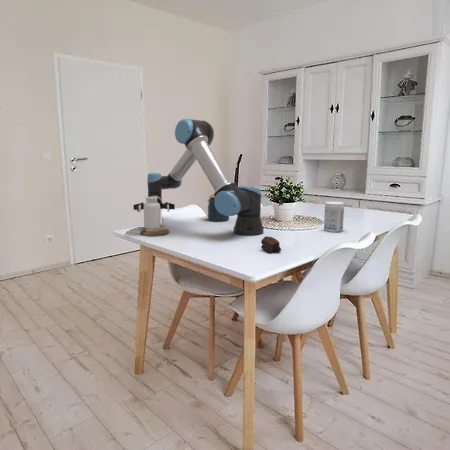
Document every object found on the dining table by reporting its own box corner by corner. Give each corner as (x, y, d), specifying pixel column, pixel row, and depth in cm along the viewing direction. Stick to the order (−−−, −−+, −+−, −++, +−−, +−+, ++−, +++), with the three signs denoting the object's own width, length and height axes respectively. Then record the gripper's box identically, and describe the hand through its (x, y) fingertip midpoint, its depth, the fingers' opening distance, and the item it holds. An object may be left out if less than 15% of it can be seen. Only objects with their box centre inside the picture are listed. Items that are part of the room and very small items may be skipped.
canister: (229, 222, 215) (229, 191, 212) (206, 221, 215) (207, 191, 212) (229, 218, 228) (229, 189, 225) (208, 217, 228) (208, 189, 225)
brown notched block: (283, 240, 148) (267, 232, 155) (271, 249, 145) (255, 240, 153) (286, 251, 151) (270, 243, 159) (274, 260, 149) (258, 251, 156)
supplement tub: (335, 228, 200) (337, 201, 197) (346, 231, 191) (348, 203, 188) (319, 229, 196) (321, 201, 194) (330, 233, 188) (332, 204, 185)
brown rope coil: (174, 233, 184) (174, 227, 183) (150, 237, 174) (150, 231, 173) (158, 229, 193) (158, 223, 193) (134, 233, 184) (134, 227, 183)
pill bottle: (152, 230, 177) (151, 198, 174) (140, 228, 181) (139, 197, 178) (164, 227, 184) (163, 197, 181) (152, 225, 188) (151, 195, 185)
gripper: (178, 210, 202) (180, 216, 181) (131, 210, 197) (127, 217, 177) (177, 196, 200) (179, 201, 180) (130, 196, 196) (126, 201, 175)
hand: (153, 209), depth 178 cm, fingers open, 13 cm apart
